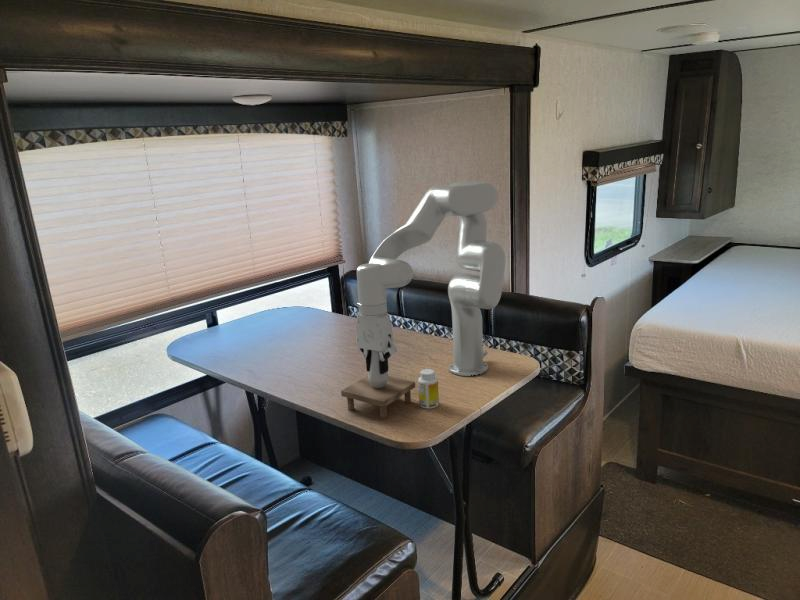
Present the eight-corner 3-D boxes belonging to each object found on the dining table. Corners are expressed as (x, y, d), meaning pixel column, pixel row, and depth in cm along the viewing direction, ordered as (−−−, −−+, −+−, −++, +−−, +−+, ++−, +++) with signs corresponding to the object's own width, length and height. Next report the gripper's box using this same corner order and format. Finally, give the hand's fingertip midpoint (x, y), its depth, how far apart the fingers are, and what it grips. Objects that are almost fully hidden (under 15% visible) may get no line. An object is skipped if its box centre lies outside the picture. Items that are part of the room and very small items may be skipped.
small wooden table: (375, 391, 174) (373, 372, 173) (416, 401, 165) (415, 381, 164) (342, 410, 162) (341, 390, 161) (385, 422, 154) (383, 401, 152)
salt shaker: (378, 380, 166) (377, 337, 164) (393, 384, 163) (392, 340, 160) (364, 386, 162) (362, 342, 159) (379, 390, 158) (378, 345, 156)
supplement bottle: (440, 401, 164) (439, 368, 162) (436, 410, 159) (435, 376, 156) (422, 400, 166) (420, 367, 163) (417, 408, 161) (415, 374, 158)
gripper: (341, 308, 158) (346, 370, 163) (389, 316, 149) (393, 381, 154) (358, 302, 164) (362, 362, 169) (405, 308, 155) (409, 372, 159)
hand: (377, 370), depth 161 cm, fingers open, 4 cm apart
